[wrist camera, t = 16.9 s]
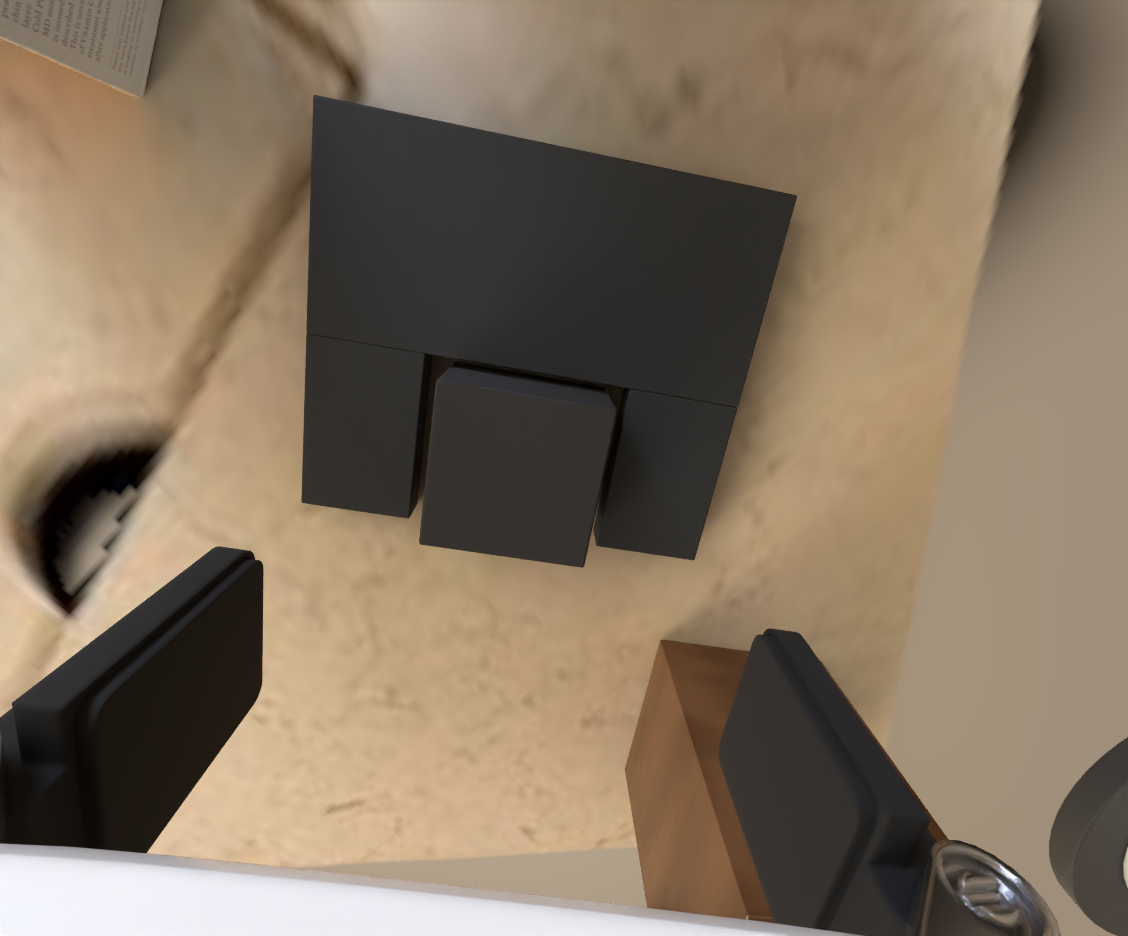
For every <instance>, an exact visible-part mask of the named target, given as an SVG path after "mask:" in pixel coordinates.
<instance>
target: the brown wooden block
mask: <svg viewBox="0 0 1128 936" xmlns="http://www.w3.org/2000/svg"><path fill="white" fill-rule="evenodd" d="M748 655H749V652H747V651H740V650H732V649H725V648H717V647H710V646H702V645H695V644H687V643H680V642H672V641H665V640H661V641H660V644H659V647H658V651H657V655H656V658H655V662H654V666H653V669H652V673H651V676H650V680H649V684H648V687H647V691H646V695H645V698H644V702H643V706H642V709H641V713H640V717H639V720H638V724H637V728H636V731H635V735H634V738H633V742H632V746H631V749H630V753H629V757H628V760H627V764H626V768H625V772H626V778H627V785H628V791H629V797H630V803H631V809H632V816H633V822H634V828H635V834H636V840H637V847H638V853H639V858H640V865H641V871H642V877H643V884H644V890H645V896H646V902H647V908H653V909H661V910H670V911H678V912H687V913H695V914H703V915H712V916H720V917H729V918H737V919H745V920H754V921H762V922H769V923H774V922H773V919H772V916H771V913H770V910H769V907H768V904H767V901H766V898H765V895H764V892H763V889H762V886H761V883H760V880H759V877H758V875H757V872H756V869H755V866H754V863H753V860H752V857H751V854H750V851H749V848H748V845H747V842H746V839H745V836H744V833H743V830H742V827H741V825H740V822H739V819H738V816H737V813H736V810H735V807H734V804H733V801H732V798H731V795H730V792H729V789H728V786H727V783H726V780H725V778H724V775H723V772H722V769H721V766H720V762H719V743H720V740H721V737H722V734H723V731H724V728H725V725H726V722H727V719H728V716H729V713H730V710H731V707H732V704H733V701H734V698H735V695H736V691H737V688H738V685H739V682H740V679H741V676H742V673H743V670H744V667H745V664H746V661H747V658H748ZM820 662H821V661H820ZM821 664H822V662H821ZM822 665H823V664H822ZM823 667H824V665H823ZM824 668H825V667H824ZM825 669H826V668H825ZM826 671H827V669H826ZM827 672H828V671H827ZM828 674H829V672H828ZM829 675H830V674H829ZM830 677H831V678H832V676H831V675H830ZM832 680H833V681H834V679H833V678H832ZM834 682H835V681H834ZM835 684H836V685H837V683H836V682H835ZM837 687H838V688H839V686H838V685H837ZM839 690H840V691H841V692H842V690H841V689H840V688H839ZM842 694H843V695H844V693H843V692H842ZM844 697H845V698H846V700H847V701H848V702H849V704H850V705H851V707H852V708H853V710H854V711H855V712H856V714H857V715H858V717H859V718H860V720H861V721H862V722H863V724H864V725H865V727H866V728H867V730H868V731H869V733H870V734H871V735H872V737H873V738H874V740H875V741H876V743H877V744H878V745H879V747H880V748H881V750H882V751H883V753H884V754H885V755H886V757H887V758H888V760H889V761H890V763H891V764H892V765H893V767H894V768H895V770H896V771H897V773H898V774H899V775H900V777H901V778H902V780H903V781H904V783H905V784H906V785H907V787H908V788H909V790H910V791H911V793H912V794H913V796H914V797H915V798H916V800H917V801H918V803H919V804H920V806H921V807H922V808H923V810H924V811H925V813H926V814H927V816H928V817H929V818H930V820H931V821H930V823H929V825H928V827H927V828H928V829H929V831H930V832H931V834H932V835H933V837H934V838H935V840H936V841H937V843H938V842H940V841H943V840H948V838H947V837H946V835H945V834H944V833H943V831H942V830H941V828H940V827H939V826H938V824H937V823H936V821H935V820H934V819H933V817H932V816H931V815H930V813H929V812H928V810H927V809H926V808H925V806H924V805H923V803H922V802H921V801H920V799H919V798H918V796H917V795H916V794H915V792H914V791H913V790H912V788H911V787H910V785H909V784H908V783H907V781H906V780H905V778H904V777H903V776H902V774H901V773H900V771H899V770H898V769H897V767H896V766H895V764H894V763H893V761H892V760H891V759H890V757H889V756H888V755H887V753H886V752H885V750H884V749H883V748H882V746H881V745H880V743H879V742H878V741H877V739H876V738H875V736H874V735H873V734H872V732H871V731H870V729H869V728H868V727H867V725H866V724H865V722H864V721H863V720H862V718H861V717H860V715H859V714H858V713H857V711H856V710H855V708H854V707H853V706H852V704H851V703H850V701H849V700H848V699H847V697H846V696H845V695H844Z"/></svg>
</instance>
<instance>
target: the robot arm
mask: <svg viewBox="0 0 1128 936" xmlns="http://www.w3.org/2000/svg"><path fill="white" fill-rule="evenodd" d="M262 655H263V564H262V562H261V561H259V560H255V557H254V554H253V553H252V552H251V551H247V550H240V549H233V548H227V547H215V548H213V549H212V550H210V551H209V552H208V553H207V554H205V555H204V556H203V557H201V558H200V559H199V560H197V561H196V562H195V563H193V564H192V565H191V566H190V567H188V568H187V569H186V570H184V571H183V572H182V573H180V574H179V575H178V576H177V577H175V578H174V579H173V580H171V581H170V582H169V583H167V584H166V585H165V586H164V587H162V588H161V589H160V590H158V591H157V592H156V593H154V594H153V595H152V596H151V597H149V598H148V599H147V600H145V601H144V602H143V603H141V604H140V605H139V606H138V607H136V608H135V609H134V610H132V611H131V612H130V613H128V614H127V615H126V616H125V617H123V618H122V619H121V620H119V621H118V622H117V623H115V624H114V625H113V626H112V627H110V628H109V629H108V630H106V631H105V632H104V633H102V634H101V635H100V636H98V637H97V638H96V639H95V640H93V641H92V642H91V643H89V644H88V645H87V646H85V647H84V648H83V649H82V650H80V651H79V652H78V653H76V654H75V655H74V656H72V657H71V658H70V659H69V660H67V661H66V662H65V663H63V664H62V665H61V666H59V667H58V668H57V669H56V670H54V671H53V672H52V673H50V674H49V675H48V676H46V677H45V678H44V679H43V680H41V681H40V682H39V683H37V684H36V685H35V686H33V687H32V688H31V689H30V690H28V691H27V692H26V693H24V694H23V695H22V696H20V697H19V698H18V699H16V700H15V701H14V702H13V703H12V707H13V708H12V709H11V710H9V711H8V712H7V713H5V714H4V715H3V716H2V717H0V936H1061V934H1060V931H1059V927H1058V924H1057V920H1056V919H1055V917H1054V915H1053V913H1052V912H1051V910H1050V909H1049V907H1048V905H1047V903H1046V902H1045V901H1044V899H1043V898H1042V897H1041V896H1040V895H1039V894H1038V892H1037V891H1036V890H1035V889H1034V888H1033V887H1032V886H1031V884H1030V883H1028V882H1027V881H1026V880H1025V879H1024V878H1023V877H1022V876H1021V875H1019V874H1018V873H1017V872H1016V871H1015V870H1014V869H1013V868H1011V867H1010V866H1008V865H1007V864H1005V863H1004V862H1003V861H1001V860H1000V859H998V858H997V857H995V856H994V855H992V854H990V853H988V852H986V851H984V850H982V849H980V848H978V847H976V846H974V845H971V844H968V843H965V842H961V841H957V840H943V841H940V842H938V843H937V841H936V840H935V838H934V837H933V835H932V834H931V832H930V831H929V829H928V828H927V827H928V825H929V823H930V821H931V820H930V818H929V817H928V816H927V814H926V813H925V811H924V810H923V808H922V807H921V806H920V804H919V803H918V801H917V800H916V798H915V797H914V796H913V794H912V793H911V791H910V790H909V788H908V787H907V785H906V784H905V783H904V781H903V780H902V778H901V777H900V775H899V774H898V773H897V771H896V770H895V768H894V767H893V765H892V764H891V763H890V761H889V760H888V758H887V757H886V755H885V754H884V753H883V751H882V750H881V748H880V747H879V745H878V744H877V743H876V741H875V740H874V738H873V737H872V735H871V734H870V733H869V731H868V730H867V728H866V727H865V725H864V724H863V722H862V721H861V720H860V718H859V717H858V715H857V714H856V712H855V711H854V710H853V708H852V707H851V705H850V704H849V702H848V701H847V700H846V698H845V697H844V695H843V694H842V692H841V691H840V690H839V688H838V687H837V685H836V684H835V682H834V681H833V680H832V678H831V677H830V675H829V674H828V672H827V671H826V669H825V668H824V667H823V665H822V664H821V662H820V661H819V659H818V658H817V657H816V655H815V654H814V652H813V651H812V649H811V648H810V647H809V645H808V644H807V642H806V641H805V639H804V638H803V637H802V636H801V635H800V634H799V633H797V632H791V631H784V630H777V629H770V628H769V629H767V630H766V631H765V632H764V633H763V635H757V636H756V637H755V638H754V641H753V643H752V646H751V649H750V652H749V655H748V658H747V661H746V664H745V667H744V670H743V673H742V676H741V679H740V682H739V685H738V688H737V691H736V695H735V698H734V701H733V704H732V707H731V710H730V713H729V716H728V719H727V722H726V725H725V728H724V731H723V734H722V737H721V740H720V743H719V762H720V766H721V769H722V772H723V775H724V778H725V780H726V783H727V786H728V789H729V792H730V795H731V798H732V801H733V804H734V807H735V810H736V813H737V816H738V819H739V822H740V825H741V827H742V830H743V833H744V836H745V839H746V842H747V845H748V848H749V851H750V854H751V857H752V860H753V863H754V866H755V869H756V872H757V875H758V877H759V880H760V883H761V886H762V889H763V892H764V895H765V898H766V901H767V904H768V907H769V910H770V913H771V916H772V919H773V922H774V923H769V922H762V921H754V920H745V919H737V918H729V917H720V916H712V915H703V914H695V913H687V912H678V911H670V910H661V909H653V908H645V907H636V906H628V905H619V904H611V903H602V902H594V901H585V900H576V899H568V898H558V897H550V896H541V895H533V894H524V893H515V892H506V891H498V890H489V889H480V888H471V887H461V886H452V885H444V884H435V883H426V882H417V881H408V880H399V879H390V878H381V877H371V876H362V875H353V874H343V873H334V872H325V871H315V870H306V869H296V868H287V867H278V866H268V865H259V864H249V863H240V862H231V861H221V860H212V859H202V858H192V857H181V856H170V855H158V854H147V852H148V850H149V849H150V847H151V846H152V845H153V843H154V842H155V840H156V839H157V838H158V836H159V835H160V834H161V832H162V831H163V829H164V828H165V827H166V825H167V824H168V822H169V821H170V820H171V818H172V817H173V816H174V814H175V813H176V811H177V810H178V809H179V807H180V806H181V804H182V803H183V802H184V800H185V799H186V798H187V796H188V795H189V793H190V792H191V791H192V789H193V788H194V786H195V785H196V784H197V782H198V781H199V779H200V778H201V777H202V775H203V774H204V773H205V771H206V770H207V768H208V767H209V766H210V764H211V763H212V761H213V760H214V759H215V757H216V756H217V755H218V753H219V752H220V750H221V749H222V748H223V746H224V745H225V743H226V742H227V741H228V739H229V738H230V737H231V735H232V734H233V732H234V731H235V730H236V728H237V727H238V725H239V724H240V723H241V721H242V720H243V719H244V717H245V716H246V714H247V713H248V712H249V710H250V709H251V707H252V706H253V705H254V703H255V701H256V700H257V698H258V696H259V693H260V690H261V686H262ZM1123 869H1124V879H1125V882H1126V885H1127V888H1128V847H1127V849H1126V854H1125V858H1124V862H1123Z"/></svg>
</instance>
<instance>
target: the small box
mask: <svg viewBox="0 0 1128 936" xmlns="http://www.w3.org/2000/svg"><path fill="white" fill-rule="evenodd" d="M162 3H163V0H0V39H2V40H4V41H7V42H9V43H11V44H14V45H16V46H18V47H20V48H23V49H25V50H27V51H29V52H31V53H33V54H36V55H38V56H40V57H42V58H45V59H47V60H49V61H51V62H54V63H56V64H58V65H61V66H63V67H65V68H67V69H70V70H72V71H74V72H77V73H79V74H82V75H84V76H86V77H89V78H91V79H93V80H96V81H98V82H100V83H102V84H104V85H107V86H109V87H111V88H113V89H115V90H118V91H120V92H122V93H125V94H127V95H130V96H132V97H135V98H140V97H141V96H143V95H144V93H145V87H146V82H147V77H148V72H149V67H150V62H151V57H152V52H153V47H154V43H155V38H156V33H157V28H158V22H159V18H160V13H161V8H162Z"/></svg>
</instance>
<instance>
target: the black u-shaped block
mask: <svg viewBox="0 0 1128 936" xmlns="http://www.w3.org/2000/svg"><path fill="white" fill-rule="evenodd" d="M796 198H797V196H796V195H792V194H787V193H782V192H777V191H773V190H768V189H763V188H758V187H753V186H749V185H744V184H739V183H734V182H729V181H725V180H720V179H715V178H710V177H705V176H701V175H696V174H691V173H686V172H681V171H677V170H672V169H667V168H662V167H657V166H653V165H648V164H643V163H638V162H633V161H629V160H624V159H619V158H614V157H609V156H605V155H600V154H595V153H590V152H585V151H581V150H576V149H571V148H566V147H561V146H557V145H552V144H547V143H542V142H537V141H533V140H528V139H523V138H518V137H514V136H509V135H504V134H499V133H494V132H490V131H485V130H480V129H475V128H470V127H466V126H461V125H456V124H451V123H446V122H442V121H437V120H432V119H427V118H422V117H418V116H413V115H408V114H403V113H398V112H394V111H389V110H384V109H379V108H374V107H370V106H365V105H360V104H355V103H350V102H346V101H341V100H336V99H331V98H326V97H322V96H317V95H314V96H313V129H312V163H311V197H310V231H309V265H308V299H307V335H306V369H305V402H304V436H303V470H302V503H307V504H313V505H320V506H327V507H334V508H341V509H348V510H354V511H361V512H368V513H375V514H382V515H388V516H395V517H402V518H409V517H410V515H411V514H412V512H413V510H414V508H415V507H416V505H417V500H418V490H419V480H420V470H421V460H422V450H423V440H424V430H425V420H426V410H427V401H428V391H429V381H430V371H431V361H432V355H437V356H443V357H449V358H454V359H460V360H466V361H472V362H478V363H483V364H489V365H495V366H501V367H507V368H512V369H518V370H524V371H530V372H536V373H541V374H547V375H553V376H559V377H565V378H570V379H576V380H582V381H588V382H594V383H599V384H605V385H611V386H617V387H623V388H624V389H623V394H622V398H621V403H620V408H619V413H618V417H617V422H616V427H615V431H614V436H613V441H612V445H611V450H610V455H609V459H608V464H607V469H606V473H605V478H604V483H603V488H602V492H601V497H600V502H599V506H598V511H597V516H596V520H595V525H594V536H595V541H596V545H597V546H600V547H607V548H614V549H621V550H628V551H635V552H641V553H648V554H655V555H662V556H669V557H675V558H682V559H689V560H694V559H695V556H696V553H697V549H698V545H699V542H700V538H701V535H702V531H703V528H704V524H705V521H706V517H707V514H708V510H709V506H710V503H711V499H712V496H713V492H714V489H715V485H716V482H717V478H718V474H719V471H720V467H721V464H722V460H723V457H724V453H725V450H726V446H727V443H728V439H729V435H730V432H731V428H732V425H733V421H734V418H735V414H736V411H737V407H738V404H739V401H740V397H741V393H742V390H743V386H744V383H745V379H746V376H747V372H748V369H749V365H750V362H751V358H752V354H753V351H754V347H755V344H756V340H757V337H758V333H759V330H760V326H761V323H762V319H763V315H764V312H765V308H766V305H767V301H768V298H769V294H770V291H771V287H772V284H773V280H774V276H775V273H776V269H777V266H778V262H779V259H780V255H781V252H782V248H783V245H784V241H785V237H786V234H787V230H788V227H789V223H790V220H791V216H792V213H793V209H794V206H795V202H796Z"/></svg>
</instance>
